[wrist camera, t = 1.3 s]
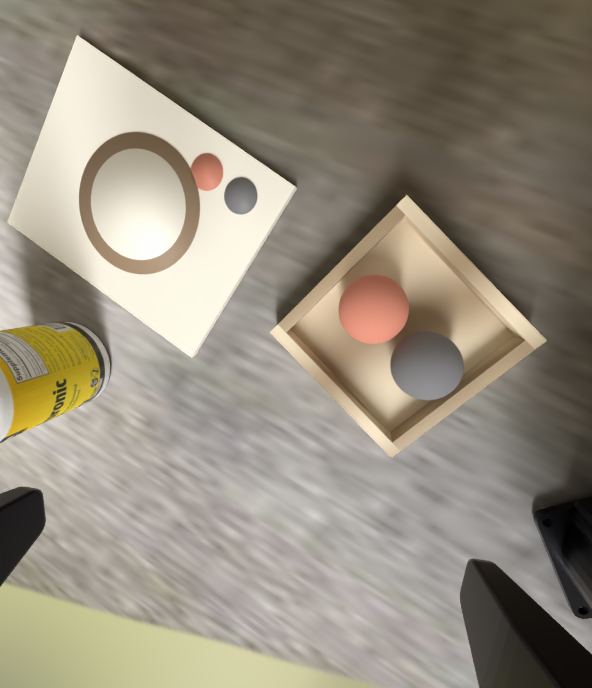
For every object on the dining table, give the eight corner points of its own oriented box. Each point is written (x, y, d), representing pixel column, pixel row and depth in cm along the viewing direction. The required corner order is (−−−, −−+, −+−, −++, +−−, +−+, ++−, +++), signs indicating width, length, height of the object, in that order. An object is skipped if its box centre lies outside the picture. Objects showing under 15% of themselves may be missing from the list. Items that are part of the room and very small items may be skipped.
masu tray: (529, 334, 17) (547, 340, 15) (388, 443, 19) (391, 458, 17) (402, 202, 16) (406, 194, 15) (277, 327, 19) (269, 332, 17)
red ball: (414, 322, 17) (425, 332, 14) (355, 346, 18) (353, 361, 15) (389, 264, 17) (396, 260, 14) (330, 291, 18) (324, 294, 14)
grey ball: (462, 374, 17) (485, 395, 14) (401, 396, 18) (410, 420, 15) (439, 316, 17) (456, 325, 14) (378, 341, 18) (381, 354, 14)
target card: (296, 188, 17) (295, 186, 17) (194, 356, 20) (191, 358, 20) (83, 40, 18) (76, 34, 17) (13, 223, 21) (6, 222, 20)
